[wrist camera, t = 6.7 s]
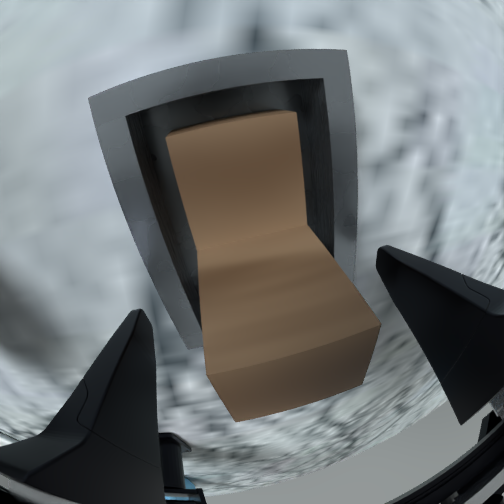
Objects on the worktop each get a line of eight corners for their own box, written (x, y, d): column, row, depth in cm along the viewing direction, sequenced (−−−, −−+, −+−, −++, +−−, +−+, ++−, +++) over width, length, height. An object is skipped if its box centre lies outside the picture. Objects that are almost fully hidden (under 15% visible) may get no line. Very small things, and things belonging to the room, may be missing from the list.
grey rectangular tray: (330, 275, 15) (350, 305, 12) (186, 312, 14) (188, 349, 12) (315, 57, 8) (346, 50, 6) (111, 97, 8) (88, 97, 6)
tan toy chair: (295, 260, 13) (362, 384, 7) (213, 281, 13) (235, 422, 7) (278, 109, 9) (406, 141, 3) (171, 130, 9) (123, 193, 3)
